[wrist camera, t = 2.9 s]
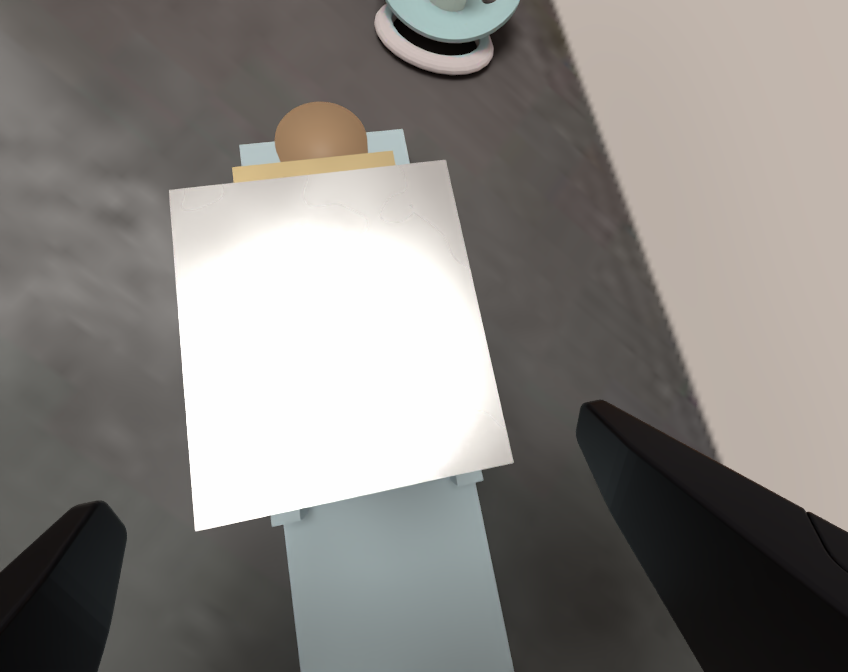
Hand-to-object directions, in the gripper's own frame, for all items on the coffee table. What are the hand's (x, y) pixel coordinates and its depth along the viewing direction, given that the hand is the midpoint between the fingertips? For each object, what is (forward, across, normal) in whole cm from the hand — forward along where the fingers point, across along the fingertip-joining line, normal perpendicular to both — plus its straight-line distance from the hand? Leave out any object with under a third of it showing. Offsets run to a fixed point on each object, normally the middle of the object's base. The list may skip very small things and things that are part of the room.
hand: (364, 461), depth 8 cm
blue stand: (+8, 0, +5) cm, 10 cm away
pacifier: (+22, -7, -7) cm, 24 cm away
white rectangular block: (+7, 0, +4) cm, 8 cm away
